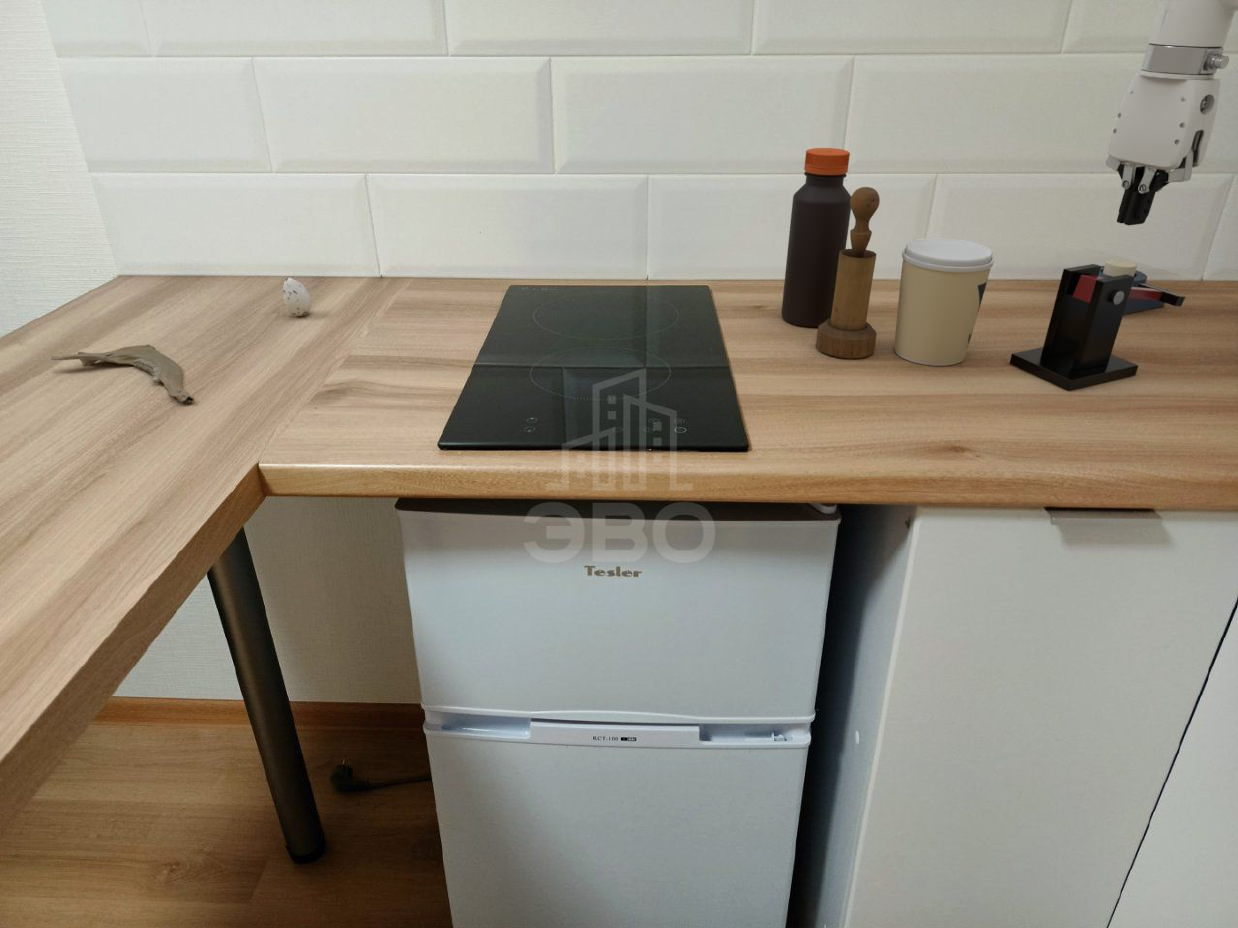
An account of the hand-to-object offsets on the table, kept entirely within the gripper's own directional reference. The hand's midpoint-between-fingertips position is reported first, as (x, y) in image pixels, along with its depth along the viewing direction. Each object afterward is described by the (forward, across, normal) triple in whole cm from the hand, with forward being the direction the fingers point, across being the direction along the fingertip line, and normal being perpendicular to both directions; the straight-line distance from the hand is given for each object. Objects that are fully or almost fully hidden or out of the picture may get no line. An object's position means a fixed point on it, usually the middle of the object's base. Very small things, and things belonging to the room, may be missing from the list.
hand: (1130, 222), depth 108 cm
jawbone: (+12, +23, +117) cm, 120 cm away
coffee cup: (+11, -4, +34) cm, 36 cm away
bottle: (+11, +11, +40) cm, 43 cm away
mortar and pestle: (+11, +1, +42) cm, 43 cm away
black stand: (+10, -14, +23) cm, 29 cm away
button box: (+10, 0, 0) cm, 10 cm away
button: (+7, 0, 0) cm, 7 cm away
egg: (+12, +38, +98) cm, 105 cm away
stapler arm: (+4, -14, +18) cm, 23 cm away
